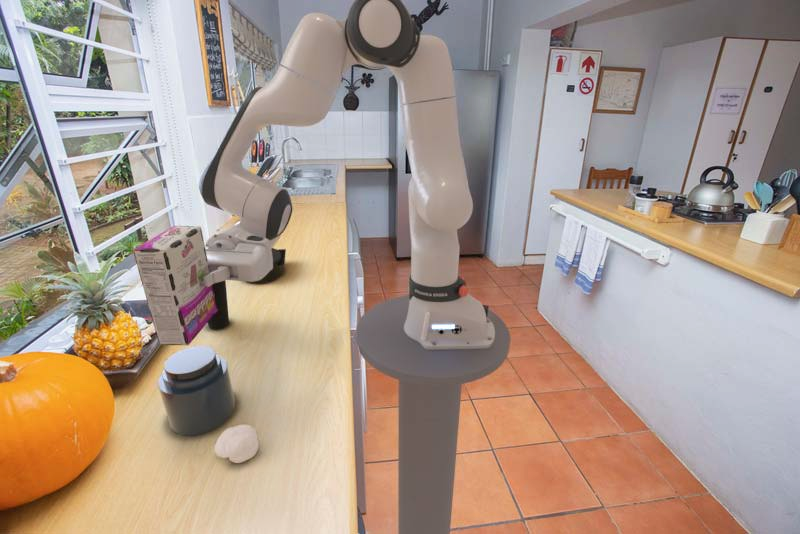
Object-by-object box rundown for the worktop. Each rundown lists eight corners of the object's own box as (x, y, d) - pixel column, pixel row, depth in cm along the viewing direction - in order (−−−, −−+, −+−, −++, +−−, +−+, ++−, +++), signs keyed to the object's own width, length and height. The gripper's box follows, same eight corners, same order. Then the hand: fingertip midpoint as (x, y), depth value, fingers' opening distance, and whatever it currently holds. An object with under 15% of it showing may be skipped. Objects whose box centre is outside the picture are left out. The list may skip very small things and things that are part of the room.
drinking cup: (215, 335, 95) (198, 261, 88) (196, 327, 99) (179, 254, 91) (241, 322, 101) (228, 251, 94) (222, 314, 105) (208, 245, 97)
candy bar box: (191, 310, 71) (173, 224, 64) (218, 311, 71) (203, 225, 64) (155, 346, 60) (130, 248, 54) (188, 347, 61) (166, 249, 54)
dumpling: (262, 438, 67) (262, 424, 65) (254, 467, 62) (254, 454, 60) (219, 435, 66) (218, 421, 63) (209, 465, 61) (207, 451, 59)
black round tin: (237, 288, 122) (234, 267, 119) (244, 264, 137) (242, 244, 134) (285, 285, 125) (283, 265, 122) (287, 261, 141) (285, 243, 137)
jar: (246, 395, 76) (236, 344, 71) (213, 439, 66) (199, 383, 61) (195, 389, 78) (182, 338, 73) (155, 431, 68) (137, 376, 63)
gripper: (179, 233, 77) (124, 259, 64) (276, 239, 74) (238, 267, 61) (186, 263, 79) (134, 293, 67) (280, 269, 76) (244, 302, 64)
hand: (185, 281), depth 64 cm, fingers closed on candy bar box, 5 cm apart
